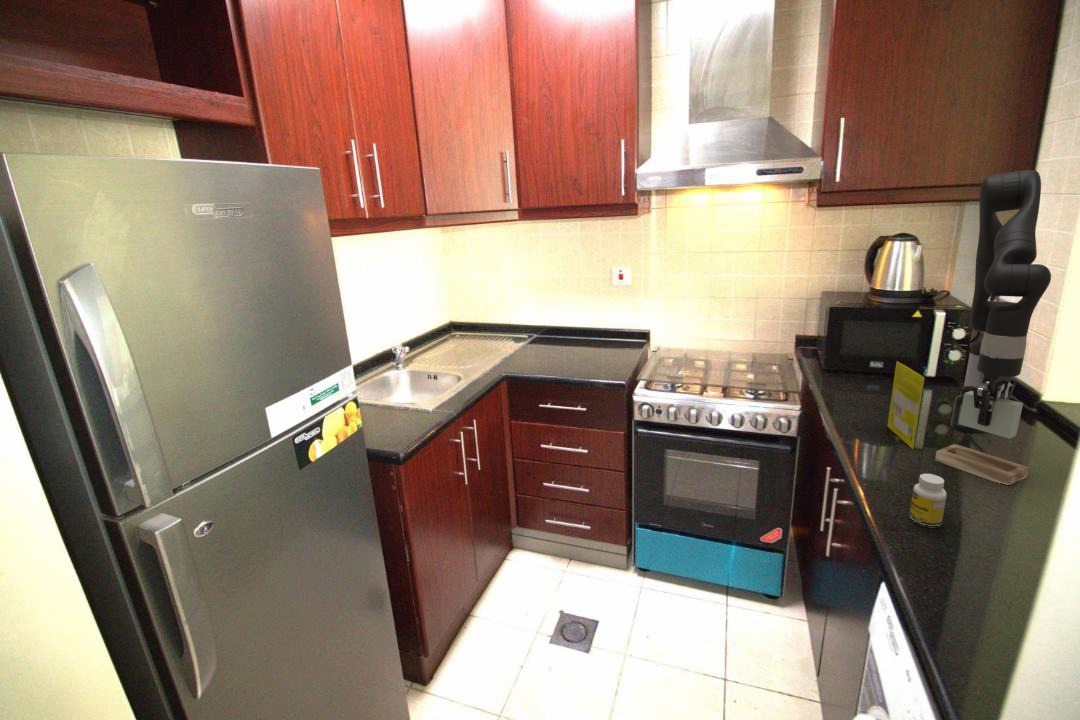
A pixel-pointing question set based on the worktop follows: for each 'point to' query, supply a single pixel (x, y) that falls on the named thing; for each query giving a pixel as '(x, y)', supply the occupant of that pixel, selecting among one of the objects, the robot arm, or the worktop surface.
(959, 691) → the worktop surface
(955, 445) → the track
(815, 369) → the worktop surface
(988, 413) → the robot arm
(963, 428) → the supplement bottle
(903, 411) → the food package
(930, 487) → the supplement bottle
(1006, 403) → the door panel
